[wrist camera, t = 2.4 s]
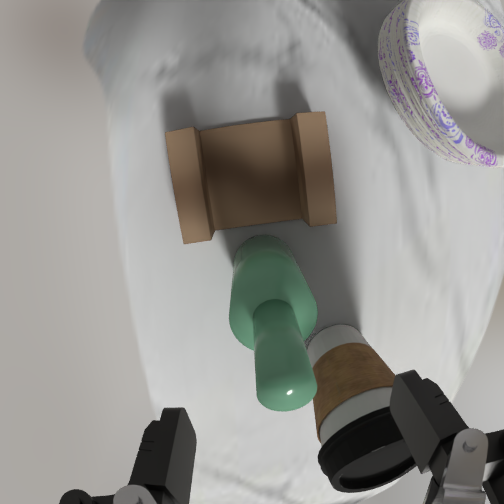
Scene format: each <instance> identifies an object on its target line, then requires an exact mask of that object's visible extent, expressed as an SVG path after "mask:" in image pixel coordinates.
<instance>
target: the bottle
mask: <svg viewBox="0 0 504 504" xmlns="http://www.w3.org/2000/svg"><path fill="white" fill-rule="evenodd" d="M317 316H318V310H317V305H316V301H315V299H314V297H313V295H312V293H311V291H310V289H309V287H308V285H307V283H306V280H305V278H304V276H303V274H302V272H301V270H300V268H299V266H298V264H297V262H296V260H295V258H294V256H293V254H292V252H291V250H290V249H289V247H288V246H287V245H286V244H285V243H284V242H283V241H282V240H280V239H278V238H276V237H273V236H269V235H260V236H256V237H253V238H250V239H248V240H247V241H245V242H244V243H243V244H242V245H241V246H240V248H239V249H238V251H237V253H236V255H235V259H234V267H233V278H232V289H231V300H230V311H229V322H230V327H231V330H232V332H233V334H234V335H235V337H236V338H237V339H238V340H239V342H241V343H242V344H243V345H244V346H246V347H247V348H249V349H251V350H254V355H255V373H256V391H257V398H258V400H259V402H260V403H261V404H262V405H263V406H264V407H266V408H268V409H271V410H274V411H291V410H295V409H298V408H301V407H303V406H305V405H306V404H307V403H309V402H310V401H311V400H312V399H313V398H314V396H315V394H316V392H317V383H316V379H315V376H314V373H313V369H312V366H311V363H310V360H309V356H308V353H307V350H306V347H305V344H304V341H305V340H306V339H307V338H308V337H309V335H310V334H311V333H312V331H313V329H314V327H315V325H316V322H317Z"/></svg>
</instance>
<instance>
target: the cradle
mask: <svg viewBox="0 0 504 504" xmlns="http://www.w3.org/2000/svg"><path fill="white" fill-rule="evenodd" d="M165 137H166V144H167V151H168V157H169V164H170V170H171V177H172V183H173V189H174V195H175V200H176V206H177V211H178V217H179V222H180V228H181V233H182V238H183V243H184V244H189V243H196V242H203V241H210V240H211V239H212V237H213V234H214V232H215V230H222V229H229V228H236V227H243V226H250V225H258V224H265V223H272V222H280V221H288V220H295V219H303V220H304V221H305V222H306V223H307V224H308V225H309V226H310V227H312V226H320V225H328V224H336V223H337V217H336V204H335V192H334V181H333V171H332V162H331V153H330V145H329V137H328V129H327V122H326V115H325V112H306V113H296V114H295V115H294V116H293V117H292V118H291V119H285V120H275V121H265V122H257V123H248V124H241V125H234V126H227V127H221V128H214V129H208V130H203V131H199V130H197V129H196V128H194V127H189V128H184V129H179V130H175V131H170V132H165Z"/></svg>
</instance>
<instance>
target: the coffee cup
mask: <svg viewBox="0 0 504 504" xmlns="http://www.w3.org/2000/svg"><path fill="white" fill-rule="evenodd" d="M307 353H308V356H309V360H310V363H311V366H312V369H313V373H314V376H315V379H316V383H317V392H316V394H315V396H314V398H313V404H314V412H315V420H316V429H317V437H318V440H319V441H320V443H321V446H322V448H321V449H320V451H319V454H318V463H319V464H320V466H321V470H322V471H323V473H324V474H325V475H326V476H328V478H329V481H330V483H331V485H332V486H333V488H334V489H336V490H337V491H341V492H347V493H354V492H362V491H367V490H371V489H375V488H378V487H380V486H383V485H386V484H388V483H390V482H392V481H394V480H396V479H398V478H400V477H401V476H403V475H404V474H406V473H408V472H409V471H410V470H412V469H413V468H414V467H416V466H417V464H416V462H415V460H414V458H413V456H412V454H411V452H410V450H409V448H408V446H407V444H406V442H405V440H404V438H403V436H402V434H401V432H400V430H399V428H398V426H397V424H396V422H395V420H394V418H393V416H392V414H391V411H390V397H391V393H392V388H393V383H394V378H395V374H394V373H393V372H392V371H391V370H390V368H389V367H388V366H387V365H386V364H385V362H384V361H383V360H382V359H381V358H380V356H379V355H378V354H377V353H376V352H375V350H374V349H372V347H371V346H370V345H369V344H368V342H367V341H366V340H365V338H364V337H363V336H362V335H361V333H360V332H359V331H358V330H357V329H355V328H354V327H352V326H348V325H342V324H341V325H334V326H330V327H328V328H325V329H323V330H322V331H320V332H319V333H318V334H316V335H315V336H314V338H313V339H312V340H311V342H310V343H309V345H308V348H307Z"/></svg>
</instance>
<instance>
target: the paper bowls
mask: <svg viewBox="0 0 504 504" xmlns="http://www.w3.org/2000/svg"><path fill="white" fill-rule="evenodd" d="M378 60H379V66H380V70H381V73H382V77H383V81H384V84H385V87H386V90H387V92H388V95H389V96H390V98H391V100H392V103H393V104H394V107H395V109H396V110H397V112H398V114H399V115H400V117H401V119H402V120H403V122H404V123H405V125H406V126H407V127H408V128H409V130H410V131H411V132H412V133H413V134H414V135H415V136H416V138H417V139H418V140H419V141H420V142H421V143H423V144H424V145H425V146H426V147H427V148H428V149H430V150H431V151H433V152H434V153H436V154H437V155H438V156H440V157H442V158H443V159H445V160H448V161H451V162H455V163H462V164H470V165H479V166H485V167H493V168H500V167H504V28H503V26H502V25H501V24H500V23H499V21H498V20H497V19H496V18H495V17H494V16H493V15H492V14H491V13H490V12H489V11H488V10H487V9H486V8H485V7H483V6H482V5H481V4H480V3H479V2H477V1H476V0H403V1H402V2H401V3H400V4H398V5H397V6H396V7H395V8H394V9H393V10H392V11H391V12H390V13H389V14H388V15H387V17H386V18H385V20H384V22H383V24H382V27H381V29H380V32H379V37H378Z"/></svg>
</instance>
